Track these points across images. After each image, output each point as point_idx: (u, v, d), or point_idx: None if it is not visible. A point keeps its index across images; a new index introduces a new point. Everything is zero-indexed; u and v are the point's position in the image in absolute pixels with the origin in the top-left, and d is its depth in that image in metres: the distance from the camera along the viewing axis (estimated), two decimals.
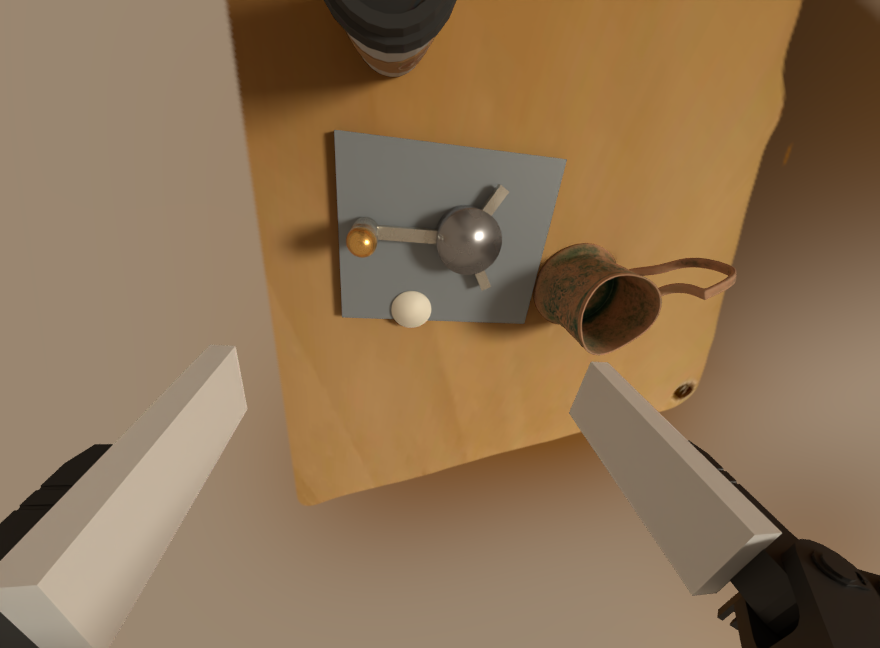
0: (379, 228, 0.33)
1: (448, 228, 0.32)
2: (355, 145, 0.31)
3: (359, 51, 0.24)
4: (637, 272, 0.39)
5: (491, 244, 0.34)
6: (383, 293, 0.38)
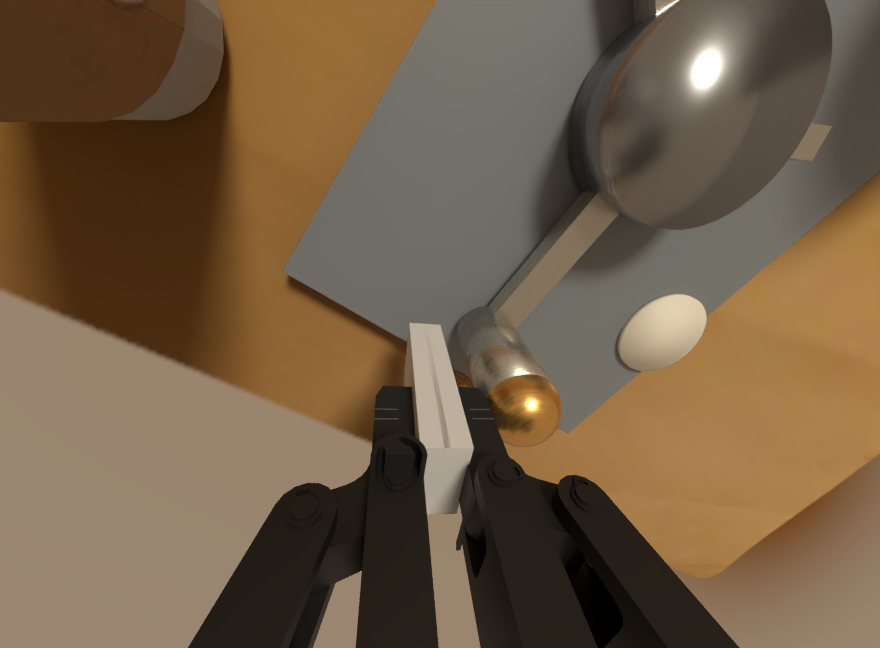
0: (500, 313, 0.14)
1: (633, 161, 0.10)
2: (326, 250, 0.14)
3: (45, 115, 0.07)
4: None
5: (786, 38, 0.09)
6: (592, 360, 0.19)
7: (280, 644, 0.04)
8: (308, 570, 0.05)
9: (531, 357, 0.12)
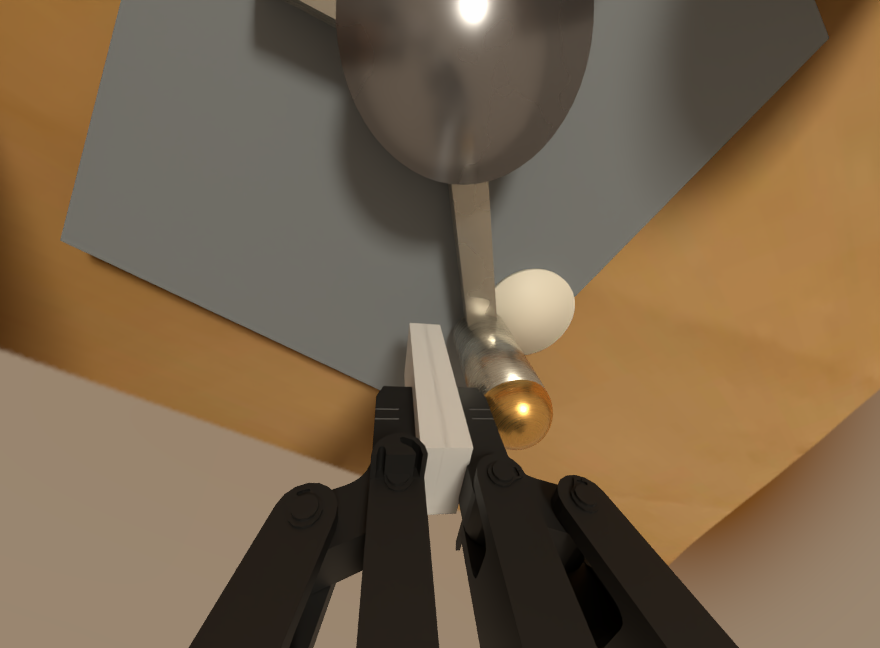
0: (471, 321, 0.15)
1: (433, 154, 0.10)
2: (105, 216, 0.12)
3: None
4: None
5: None
6: None
7: (281, 643, 0.04)
8: (308, 570, 0.05)
9: (498, 360, 0.12)
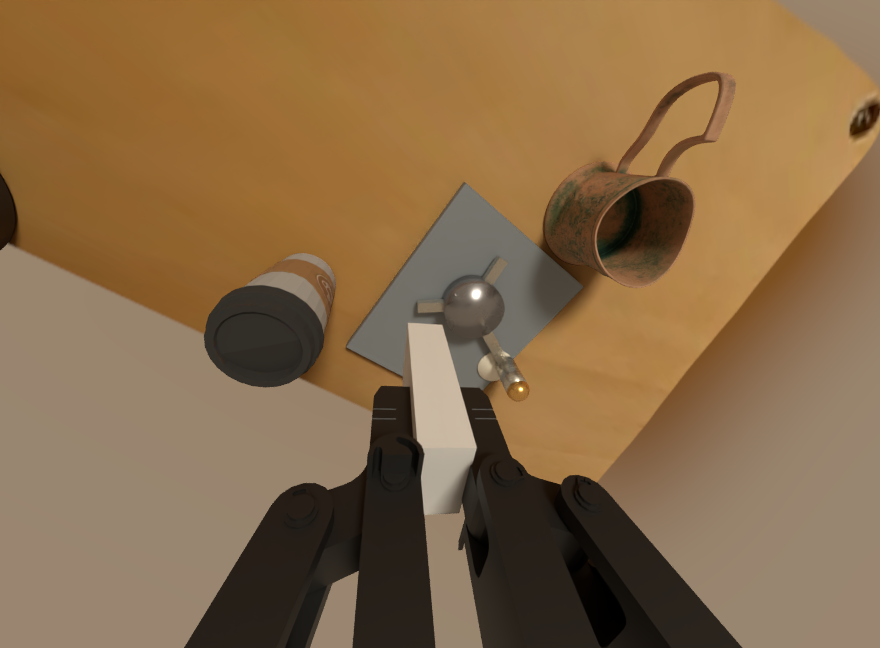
0: (499, 363, 0.42)
1: (473, 333, 0.38)
2: (361, 340, 0.40)
3: None
4: (630, 155, 0.31)
5: (465, 296, 0.35)
6: (468, 376, 0.45)
7: (276, 644, 0.04)
8: (304, 570, 0.05)
9: (509, 376, 0.39)
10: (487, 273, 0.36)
